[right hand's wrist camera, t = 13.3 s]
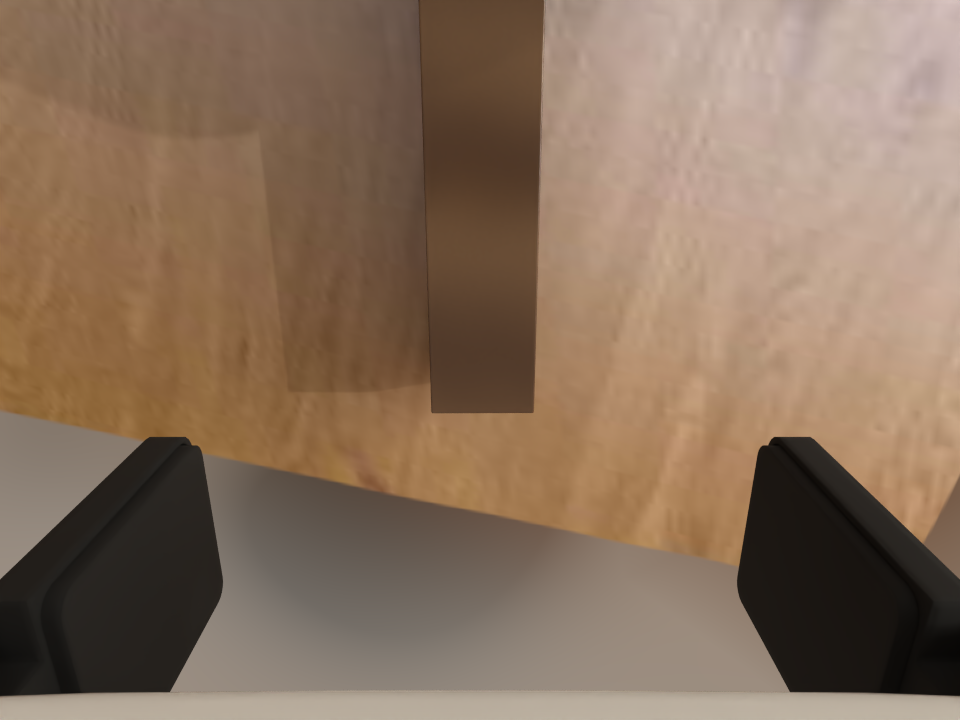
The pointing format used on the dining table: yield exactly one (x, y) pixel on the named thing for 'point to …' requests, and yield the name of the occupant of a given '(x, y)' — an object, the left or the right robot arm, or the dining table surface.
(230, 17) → the dining table surface
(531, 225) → the bar
